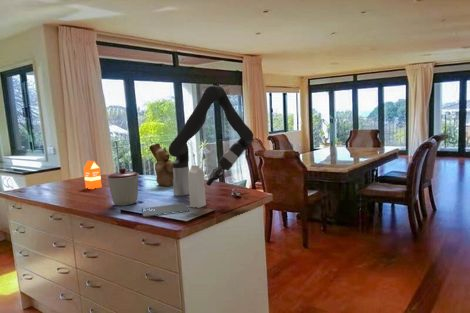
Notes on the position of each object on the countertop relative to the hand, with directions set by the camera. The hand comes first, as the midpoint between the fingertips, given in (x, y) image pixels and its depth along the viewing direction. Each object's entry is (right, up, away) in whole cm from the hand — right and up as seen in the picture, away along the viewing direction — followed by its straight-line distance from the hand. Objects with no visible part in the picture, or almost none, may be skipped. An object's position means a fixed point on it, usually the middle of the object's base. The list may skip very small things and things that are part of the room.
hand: (207, 184), depth 189 cm
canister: (-48, -12, +15) cm, 52 cm away
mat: (-22, -13, -5) cm, 26 cm away
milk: (-5, -12, 0) cm, 13 cm away
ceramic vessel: (-36, -5, +68) cm, 78 cm away
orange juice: (-90, -8, +71) cm, 115 cm away
